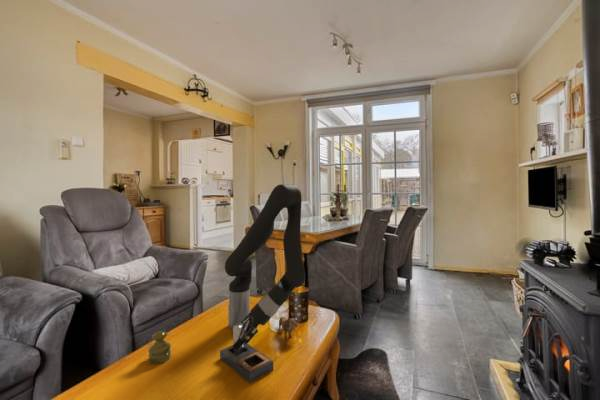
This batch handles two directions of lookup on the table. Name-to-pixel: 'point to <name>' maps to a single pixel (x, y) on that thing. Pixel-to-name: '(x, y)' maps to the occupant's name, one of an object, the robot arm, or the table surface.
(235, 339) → the steel peg
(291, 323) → the lion figurine
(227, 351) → the block with square holes
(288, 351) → the table surface
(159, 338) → the bronze chess pawn
